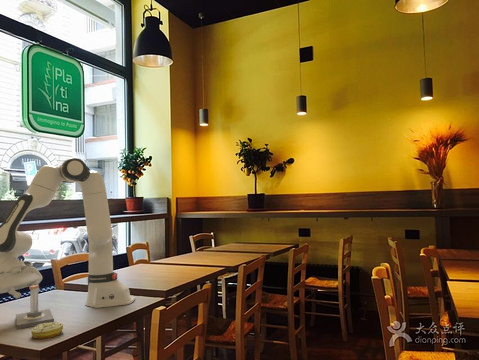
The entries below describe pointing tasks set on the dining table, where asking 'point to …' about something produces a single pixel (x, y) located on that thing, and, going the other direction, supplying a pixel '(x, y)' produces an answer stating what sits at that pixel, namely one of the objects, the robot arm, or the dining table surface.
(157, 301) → the dining table surface
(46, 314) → the slate board
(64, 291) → the dining table surface
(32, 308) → the grey stamp
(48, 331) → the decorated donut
